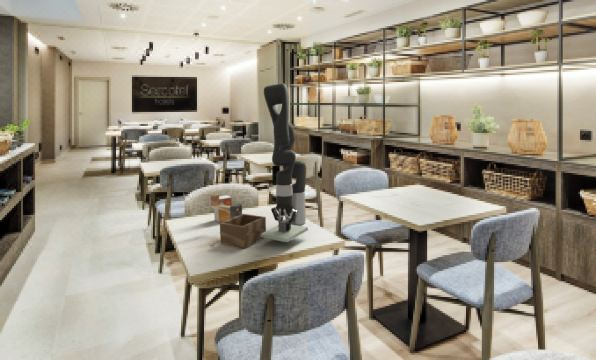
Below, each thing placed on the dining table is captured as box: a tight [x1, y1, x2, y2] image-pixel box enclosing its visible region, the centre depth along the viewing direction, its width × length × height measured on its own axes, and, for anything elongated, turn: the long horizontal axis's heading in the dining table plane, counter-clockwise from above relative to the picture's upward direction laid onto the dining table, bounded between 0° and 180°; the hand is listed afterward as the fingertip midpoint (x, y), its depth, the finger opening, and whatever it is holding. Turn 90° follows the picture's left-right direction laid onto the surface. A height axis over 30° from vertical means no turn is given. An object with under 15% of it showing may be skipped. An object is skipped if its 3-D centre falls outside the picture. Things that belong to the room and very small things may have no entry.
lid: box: [261, 218, 309, 243], centre depth 196 cm, size 19×14×7 cm
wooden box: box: [219, 203, 267, 250], centre depth 198 cm, size 18×16×15 cm
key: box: [210, 193, 239, 211], centre depth 208 cm, size 3×15×6 cm, turn 60°
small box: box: [213, 194, 233, 223], centre depth 231 cm, size 8×6×13 cm
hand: (284, 230), depth 196 cm, fingers closed on lid, 3 cm apart
